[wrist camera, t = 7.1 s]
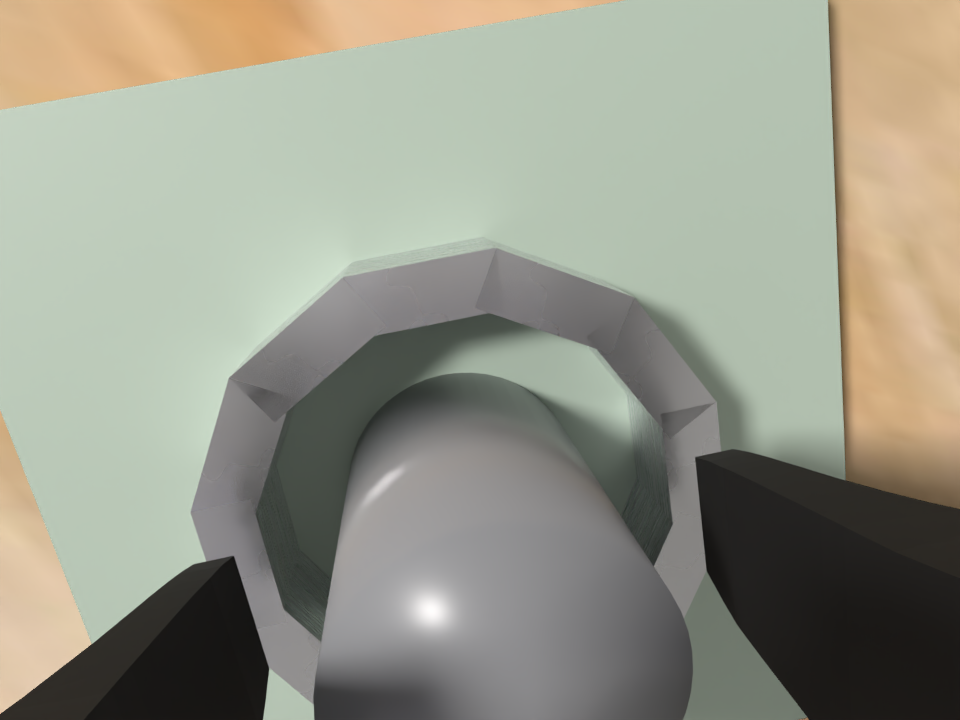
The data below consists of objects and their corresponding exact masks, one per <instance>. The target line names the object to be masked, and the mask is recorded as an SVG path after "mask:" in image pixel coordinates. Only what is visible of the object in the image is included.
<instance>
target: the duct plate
mask: <svg viewBox="0 0 960 720" xmlns="http://www.w3.org/2000/svg"><path fill="white" fill-rule="evenodd" d="M478 237H483V238H486V239H489V240H492V241H494V242H497V243H500V244H503V245H506V246H508V247H511V248H514V249H517V250H520V251H522V252H525V253H528V254H531V255H534V256H536V257H539V258H542V259H545V260H548V261H550V262H553V263H556V264H559V265H562V266H564V267H567V268H570V269H573V270H576V271H578V272H581V273H584V274H587V275H590V276H592V277H595V278H598V279H601V280H603V281H605V282H606V283H608V284H610V285H612V286H614V287H616V288H618V289H620V290H622V291H623V292H625V293H627V294H629V295H631V296H633V297H635V299H636V300H637V301H638V303H639V304H640V305H641V306H642V308H643V309H644V310H645V312H646V313H647V314H648V315H649V317H650V318H651V319H652V320H653V322H654V323H655V324H656V326H657V327H658V328H659V329H660V331H661V332H662V333H663V334H664V336H665V337H666V338H667V340H668V341H669V342H670V343H671V345H672V346H673V347H674V348H675V350H676V351H677V352H678V354H679V355H680V356H681V357H682V359H683V360H684V361H685V363H686V364H687V365H688V366H689V368H690V369H691V370H692V371H693V373H694V374H695V375H696V377H697V378H698V379H699V380H700V382H701V383H702V384H703V385H704V387H705V388H706V389H707V391H708V392H709V393H710V394H711V396H712V397H713V398H714V399H715V401H716V402H717V412H718V423H719V434H720V445H721V451H726V450H730V449H736V450H742V451H747V452H751V453H755V454H759V455H762V456H766V457H769V458H773V459H776V460H780V461H783V462H786V463H790V464H793V465H796V466H799V467H803V468H806V469H809V470H813V471H816V472H819V473H822V474H826V475H829V476H832V477H836V478H839V479H842V480H846V474H845V448H844V421H843V394H842V368H841V341H840V314H839V288H838V261H837V234H836V208H835V181H834V154H833V128H832V101H831V74H830V48H829V21H828V0H625V1H619V2H613V3H608V4H602V5H596V6H591V7H585V8H579V9H573V10H568V11H562V12H556V13H551V14H545V15H539V16H534V17H528V18H522V19H516V20H511V21H505V22H499V23H494V24H488V25H482V26H477V27H471V28H465V29H459V30H454V31H448V32H442V33H437V34H431V35H425V36H419V37H414V38H408V39H402V40H397V41H391V42H385V43H380V44H374V45H368V46H362V47H357V48H351V49H345V50H340V51H334V52H328V53H323V54H317V55H311V56H305V57H300V58H294V59H288V60H283V61H277V62H271V63H266V64H260V65H254V66H248V67H243V68H237V69H231V70H226V71H220V72H214V73H208V74H203V75H197V76H191V77H186V78H180V79H174V80H169V81H163V82H157V83H151V84H146V85H140V86H134V87H129V88H123V89H117V90H112V91H106V92H100V93H94V94H89V95H83V96H77V97H72V98H66V99H60V100H55V101H49V102H43V103H37V104H32V105H26V106H20V107H15V108H9V109H3V110H0V411H1V413H2V416H3V418H4V421H5V423H6V426H7V428H8V431H9V434H10V436H11V439H12V441H13V444H14V446H15V449H16V451H17V454H18V457H19V459H20V462H21V464H22V467H23V469H24V472H25V474H26V477H27V480H28V482H29V485H30V487H31V490H32V492H33V495H34V497H35V500H36V502H37V505H38V508H39V510H40V513H41V515H42V518H43V520H44V523H45V525H46V528H47V531H48V533H49V536H50V538H51V541H52V543H53V546H54V548H55V551H56V554H57V556H58V559H59V561H60V564H61V566H62V569H63V571H64V574H65V576H66V579H67V582H68V584H69V587H70V589H71V592H72V594H73V597H74V599H75V602H76V605H77V607H78V610H79V612H80V615H81V617H82V620H83V622H84V625H85V628H86V630H87V633H88V635H89V638H90V640H91V643H92V644H93V643H94V642H95V641H96V640H98V639H99V638H100V637H101V636H102V635H104V634H105V633H106V632H107V631H108V630H110V629H111V628H112V627H113V626H115V625H116V624H117V623H118V622H119V621H121V620H122V619H123V618H124V617H125V616H127V615H128V614H129V613H130V612H132V611H133V610H134V609H135V608H136V607H138V606H139V605H140V604H141V603H142V602H144V601H145V600H146V599H147V598H149V597H150V596H151V595H152V594H153V593H155V592H156V591H157V590H158V589H160V588H161V587H162V586H163V585H165V584H166V583H167V582H169V581H170V580H171V579H172V578H174V577H175V576H176V575H178V574H179V573H181V572H182V571H183V570H185V569H187V568H188V567H190V566H191V565H193V564H197V563H201V562H206V559H205V556H204V553H203V550H202V547H201V544H200V541H199V538H198V535H197V532H196V528H195V525H194V522H193V519H192V516H191V513H190V512H191V508H192V505H193V501H194V498H195V494H196V491H197V487H198V484H199V480H200V477H201V473H202V470H203V466H204V463H205V459H206V456H207V452H208V449H209V445H210V442H211V438H212V435H213V431H214V428H215V425H216V421H217V418H218V414H219V411H220V407H221V404H222V400H223V397H224V393H225V390H226V386H227V383H228V379H229V377H230V376H231V375H232V374H233V373H234V372H235V370H236V369H237V368H238V367H239V366H240V365H241V363H242V362H243V361H244V360H245V359H246V358H247V357H248V355H249V354H250V353H251V352H252V351H253V350H254V348H255V347H256V346H258V345H259V344H260V343H261V342H262V341H263V340H264V339H266V338H267V337H268V336H269V335H270V334H271V333H272V332H273V331H275V330H276V329H277V328H278V327H279V326H280V325H281V324H283V323H284V322H285V321H286V320H287V319H288V318H289V317H290V316H292V315H293V314H294V313H295V312H296V311H297V310H298V309H299V308H301V307H302V306H303V305H304V304H305V303H306V302H307V301H309V300H310V299H311V298H312V297H313V296H314V295H315V294H316V293H318V292H319V291H320V290H321V289H322V288H323V287H324V286H325V285H327V284H328V283H329V282H330V281H331V280H332V279H333V278H335V277H336V276H337V275H338V274H339V273H340V272H341V271H342V270H344V269H345V268H346V267H347V266H348V265H349V264H350V263H352V262H354V261H359V260H364V259H369V258H374V257H380V256H385V255H390V254H395V253H400V252H406V251H411V250H416V249H421V248H426V247H432V246H437V245H442V244H447V243H452V242H458V241H463V240H468V239H473V238H478ZM452 373H480V374H488V375H492V376H496V377H500V378H503V379H506V380H508V381H511V382H514V383H516V384H518V385H520V386H521V387H523V388H525V389H527V390H528V391H530V392H531V393H532V394H534V395H535V396H536V397H538V398H539V399H540V400H541V401H542V402H543V403H544V404H545V405H546V406H547V407H548V408H549V409H550V410H551V411H552V413H553V414H554V415H555V417H556V418H557V419H558V421H559V422H560V424H561V425H562V427H563V428H564V430H565V432H566V433H567V435H568V436H569V438H570V439H571V441H572V442H573V444H574V445H575V447H576V448H577V450H578V451H579V453H580V454H581V456H582V458H583V459H584V461H585V462H586V464H587V465H588V467H589V468H590V470H591V471H592V473H593V474H594V476H595V477H596V479H597V481H598V482H599V484H600V485H601V487H602V488H603V490H604V491H605V493H606V494H607V496H608V497H609V499H610V500H611V502H612V503H613V505H614V507H615V508H616V510H617V511H618V513H619V514H620V515H621V513H622V511H623V508H624V506H625V504H626V501H627V499H628V497H629V494H630V492H631V490H632V488H633V485H634V483H635V481H636V478H637V475H636V467H635V459H634V451H633V443H632V436H631V428H630V420H629V412H628V404H627V396H626V393H625V391H624V390H623V389H622V388H621V387H620V385H619V384H618V383H617V382H616V381H615V379H614V378H613V377H612V376H611V375H610V373H609V372H608V371H607V370H606V368H605V367H604V366H603V365H602V364H601V362H600V361H599V360H598V359H597V358H596V356H595V355H594V354H593V353H592V352H591V350H590V349H589V348H588V347H587V346H586V345H583V344H580V343H577V342H574V341H571V340H568V339H565V338H562V337H559V336H556V335H553V334H550V333H547V332H545V331H542V330H539V329H536V328H533V327H530V326H527V325H524V324H521V323H518V322H515V321H512V320H509V319H506V318H503V317H500V316H497V315H494V314H491V313H487V314H482V315H477V316H472V317H467V318H462V319H457V320H452V321H447V322H442V323H437V324H432V325H427V326H422V327H417V328H412V329H407V330H401V331H396V332H391V333H386V334H381V335H376V336H374V337H373V338H371V339H370V340H369V341H368V342H367V343H366V344H364V345H363V346H362V347H361V348H360V349H359V350H358V351H356V352H355V353H354V354H353V355H352V356H351V357H349V358H348V359H347V360H346V361H345V362H344V363H343V364H341V365H340V366H339V367H338V368H337V369H336V370H335V371H333V372H332V373H331V374H330V375H329V376H328V377H326V378H325V379H324V380H323V381H322V382H321V383H320V384H318V385H317V386H316V387H315V388H314V389H313V390H311V391H310V392H309V393H308V394H307V395H306V396H305V397H303V398H302V399H301V400H300V401H299V402H298V403H296V405H295V408H294V411H293V415H292V418H291V421H290V424H289V427H288V431H287V434H286V437H285V440H284V444H283V447H282V450H281V453H280V456H279V460H278V463H277V469H278V473H279V476H280V480H281V483H282V487H283V490H284V494H285V497H286V501H287V504H288V508H289V512H290V515H291V519H292V522H293V526H294V529H295V533H296V536H297V540H298V543H299V547H300V550H301V551H302V552H303V553H305V554H306V555H307V556H308V557H309V558H310V559H311V560H312V561H313V562H314V563H315V564H317V565H318V566H319V567H320V568H321V569H322V570H323V571H324V572H325V573H326V574H327V575H329V576H330V577H331V578H332V574H333V568H334V562H335V556H336V550H337V544H338V538H339V532H340V526H341V520H342V514H343V508H344V502H345V496H346V490H347V484H348V479H349V473H350V467H351V462H352V458H353V454H354V450H355V447H356V445H357V443H358V440H359V438H360V436H361V434H362V432H363V430H364V429H365V427H366V425H367V424H368V422H369V421H370V420H371V419H372V417H373V416H374V415H375V413H376V412H377V411H378V410H379V409H380V408H381V407H382V406H383V405H384V404H385V403H386V402H387V401H389V400H390V399H391V398H393V397H394V396H395V395H397V394H398V393H399V392H401V391H403V390H405V389H406V388H408V387H410V386H412V385H414V384H416V383H418V382H421V381H423V380H426V379H429V378H432V377H436V376H440V375H445V374H452ZM684 621H685V623H686V626H687V629H688V632H689V637H690V642H691V647H692V657H693V677H692V687H691V694H690V698H689V702H688V706H687V710H686V713H685V716H684V718H683V720H798V719H803V718H807V716H806V715H805V714H804V712H803V711H802V710H801V708H800V707H799V706H798V704H797V703H796V702H795V701H794V699H793V698H792V697H791V695H790V694H789V693H788V691H787V690H786V689H785V688H784V686H783V685H782V684H781V682H780V681H779V680H778V678H777V677H776V676H775V675H774V673H773V672H772V671H771V669H770V668H769V667H768V665H767V664H766V663H765V662H764V660H763V659H762V658H761V656H760V655H759V654H758V652H757V651H756V650H755V648H754V647H753V646H752V644H751V643H750V642H749V640H748V639H747V638H746V636H745V635H744V634H743V632H742V631H741V630H740V628H739V627H738V625H737V624H736V622H735V621H734V619H733V617H732V615H731V614H730V612H729V610H728V609H727V607H726V605H725V604H724V602H723V600H722V598H721V596H720V595H719V593H718V591H717V589H716V587H715V586H714V584H713V582H712V580H711V578H710V576H709V575H708V573H707V571H706V573H705V575H704V577H703V579H702V581H701V583H700V586H699V588H698V590H697V592H696V594H695V596H694V598H693V600H692V602H691V605H690V607H689V609H688V611H687V613H686V615H685V617H684ZM263 720H314V705H313V704H312V703H311V702H310V701H308V700H307V699H306V698H305V697H304V696H302V695H301V694H300V693H299V692H298V691H296V690H295V689H294V688H293V687H292V686H290V685H289V684H288V683H287V682H286V681H285V680H283V679H282V678H281V677H280V676H279V675H277V674H276V673H275V672H274V671H273V670H271V669H270V668H269V676H268V685H267V693H266V702H265V709H264V716H263Z"/></svg>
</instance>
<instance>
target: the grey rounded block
mask: <svg viewBox="0 0 960 720" xmlns="http://www.w3.org/2000/svg"><path fill="white" fill-rule="evenodd" d="M692 677H693V657H692V647H691V642H690V637H689V632H688V629H687V626H686V623H685V621H684V618H683V615H682V612H681V610H680V608H679V607H678V605H677V603H676V601H675V599H674V598H673V596H672V594H671V592H670V591H669V589H668V588H667V586H666V585H665V583H664V582H663V580H662V578H661V577H660V575H659V574H658V572H657V571H656V569H655V568H654V566H653V565H652V563H651V562H650V560H649V559H648V557H647V556H646V554H645V552H644V551H643V549H642V548H641V546H640V545H639V543H638V542H637V540H636V539H635V537H634V536H633V534H632V533H631V531H630V529H629V528H628V526H627V525H626V523H625V522H624V520H623V519H622V517H621V516H620V514H619V513H618V511H617V510H616V508H615V507H614V505H613V503H612V502H611V500H610V499H609V497H608V496H607V494H606V493H605V491H604V490H603V488H602V487H601V485H600V484H599V482H598V481H597V479H596V477H595V476H594V474H593V473H592V471H591V470H590V468H589V467H588V465H587V464H586V462H585V461H584V459H583V458H582V456H581V454H580V453H579V451H578V450H577V448H576V447H575V445H574V444H573V442H572V441H571V439H570V438H569V436H568V435H567V433H566V432H565V430H564V428H563V427H562V425H561V424H560V422H559V421H558V419H557V418H556V417H555V415H554V414H553V413H552V411H551V410H550V409H549V408H548V407H547V406H546V405H545V404H544V403H543V402H542V401H541V400H540V399H539V398H538V397H536V396H535V395H534V394H532V393H531V392H530V391H528V390H527V389H525V388H523V387H521V386H520V385H518V384H516V383H514V382H511V381H508V380H506V379H503V378H500V377H496V376H492V375H488V374H480V373H452V374H445V375H440V376H436V377H432V378H429V379H426V380H423V381H421V382H418V383H416V384H414V385H412V386H410V387H408V388H406V389H405V390H403V391H401V392H399V393H398V394H397V395H395V396H394V397H393V398H391V399H390V400H389V401H387V402H386V403H385V404H384V405H383V406H382V407H381V408H380V409H379V410H378V411H377V412H376V413H375V415H374V416H373V417H372V419H371V420H370V421H369V422H368V424H367V425H366V427H365V429H364V430H363V432H362V434H361V436H360V438H359V440H358V443H357V445H356V447H355V450H354V454H353V458H352V462H351V467H350V473H349V479H348V484H347V490H346V496H345V502H344V508H343V514H342V520H341V526H340V532H339V538H338V544H337V550H336V556H335V562H334V568H333V574H332V580H331V586H330V592H329V598H328V604H327V610H326V616H325V622H324V628H323V634H322V639H321V645H320V651H319V657H318V663H317V669H316V675H315V685H314V695H313V703H314V720H683V718H684V716H685V713H686V710H687V706H688V702H689V698H690V694H691V687H692Z"/></svg>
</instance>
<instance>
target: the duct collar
mask: <svg viewBox="0 0 960 720" xmlns="http://www.w3.org/2000/svg"><path fill="white" fill-rule="evenodd" d="M487 313H491V314H494V315H497V316H500V317H503V318H506V319H509V320H512V321H515V322H518V323H521V324H524V325H527V326H530V327H533V328H536V329H539V330H542V331H545V332H547V333H550V334H553V335H556V336H559V337H562V338H565V339H568V340H571V341H574V342H577V343H580V344H583V345H586V346H587V347H588V348H589V349H590V350H591V352H592V353H593V354H594V355H595V356H596V358H597V359H598V360H599V361H600V362H601V364H602V365H603V366H604V367H605V368H606V370H607V371H608V372H609V373H610V375H611V376H612V377H613V378H614V379H615V381H616V382H617V383H618V384H619V385H620V387H621V388H622V389H623V390H624V391H625V393H626V396H627V404H628V412H629V420H630V428H631V436H632V443H633V451H634V459H635V467H636V475H637V478H636V481H635V483H634V485H633V488H632V490H631V492H630V494H629V497H628V499H627V501H626V504H625V506H624V508H623V511H622V513H621V515H620V516H621V517H622V519H623V520H624V522H625V523H626V525H627V526H628V528H629V529H630V531H631V533H632V534H633V536H634V537H635V539H636V540H637V542H638V543H639V545H640V546H641V548H642V549H643V551H644V552H645V554H646V556H647V557H648V559H649V560H650V562H651V563H652V565H653V566H654V568H655V569H656V571H657V572H658V574H659V575H660V577H661V578H662V580H663V582H664V583H665V585H666V586H667V588H668V589H669V591H670V592H671V594H672V596H673V598H674V599H675V601H676V603H677V605H678V607H679V608H680V610H681V612H682V615H683V618H684V617H685V615H686V613H687V611H688V609H689V607H690V605H691V602H692V600H693V598H694V596H695V594H696V592H697V590H698V588H699V586H700V583H701V581H702V579H703V577H704V575H705V573H706V571H707V570H706V561H705V551H704V541H703V531H702V521H701V512H700V502H699V492H698V482H697V472H696V462H695V457H698V456H702V455H707V454H712V453H716V452H721V445H720V434H719V423H718V412H717V402H716V401H715V399H714V398H713V397H712V396H711V394H710V393H709V392H708V391H707V389H706V388H705V387H704V385H703V384H702V383H701V382H700V380H699V379H698V378H697V377H696V375H695V374H694V373H693V371H692V370H691V369H690V368H689V366H688V365H687V364H686V363H685V361H684V360H683V359H682V357H681V356H680V355H679V354H678V352H677V351H676V350H675V348H674V347H673V346H672V345H671V343H670V342H669V341H668V340H667V338H666V337H665V336H664V334H663V333H662V332H661V331H660V329H659V328H658V327H657V326H656V324H655V323H654V322H653V320H652V319H651V318H650V317H649V315H648V314H647V313H646V312H645V310H644V309H643V308H642V306H641V305H640V304H639V303H638V301H637V300H636V299H635V297H633V296H631V295H629V294H627V293H625V292H623V291H622V290H620V289H618V288H616V287H614V286H612V285H610V284H608V283H606V282H605V281H603V280H601V279H598V278H595V277H592V276H590V275H587V274H584V273H581V272H578V271H576V270H573V269H570V268H567V267H564V266H562V265H559V264H556V263H553V262H550V261H548V260H545V259H542V258H539V257H536V256H534V255H531V254H528V253H525V252H522V251H520V250H517V249H514V248H511V247H508V246H506V245H503V244H500V243H497V242H494V241H492V240H489V239H486V238H483V237H478V238H473V239H468V240H463V241H458V242H452V243H447V244H442V245H437V246H432V247H426V248H421V249H416V250H411V251H406V252H400V253H395V254H390V255H385V256H380V257H374V258H369V259H364V260H359V261H354V262H352V263H350V264H349V265H348V266H347V267H346V268H345V269H344V270H342V271H341V272H340V273H339V274H338V275H337V276H336V277H335V278H333V279H332V280H331V281H330V282H329V283H328V284H327V285H325V286H324V287H323V288H322V289H321V290H320V291H319V292H318V293H316V294H315V295H314V296H313V297H312V298H311V299H310V300H309V301H307V302H306V303H305V304H304V305H303V306H302V307H301V308H299V309H298V310H297V311H296V312H295V313H294V314H293V315H292V316H290V317H289V318H288V319H287V320H286V321H285V322H284V323H283V324H281V325H280V326H279V327H278V328H277V329H276V330H275V331H273V332H272V333H271V334H270V335H269V336H268V337H267V338H266V339H264V340H263V341H262V342H261V343H260V344H259V345H258V346H256V347H255V348H254V350H253V351H252V352H251V353H250V354H249V355H248V357H247V358H246V359H245V360H244V361H243V362H242V363H241V365H240V366H239V367H238V368H237V369H236V370H235V372H234V373H233V374H232V375H231V376H230V377H229V379H228V383H227V386H226V390H225V393H224V397H223V400H222V404H221V407H220V411H219V414H218V418H217V421H216V425H215V428H214V431H213V435H212V438H211V442H210V445H209V449H208V452H207V456H206V459H205V463H204V466H203V470H202V473H201V477H200V480H199V484H198V487H197V491H196V494H195V498H194V501H193V505H192V508H191V512H190V513H191V516H192V519H193V522H194V525H195V528H196V532H197V535H198V538H199V541H200V544H201V547H202V550H203V553H204V556H205V559H206V561H211V560H215V559H220V558H225V557H229V556H234V557H235V560H236V564H237V567H238V570H239V573H240V576H241V580H242V583H243V586H244V589H245V592H246V596H247V599H248V602H249V605H250V608H251V612H252V615H253V618H254V621H255V624H256V628H257V631H258V634H259V637H260V640H261V644H262V647H263V650H264V653H265V656H266V660H267V663H268V666H269V668H270V669H271V670H273V671H274V672H275V673H276V674H277V675H279V676H280V677H281V678H282V679H283V680H285V681H286V682H287V683H288V684H289V685H290V686H292V687H293V688H294V689H295V690H296V691H298V692H299V693H300V694H301V695H302V696H304V697H305V698H306V699H307V700H308V701H310V702H311V703H312V704H313V705H314V703H313V695H314V685H315V675H316V669H317V663H318V657H319V651H320V645H321V639H322V634H323V628H324V622H325V616H326V610H327V604H328V598H329V592H330V586H331V580H332V578H331V577H330V576H329V575H327V574H326V573H325V572H324V571H323V570H322V569H321V568H320V567H319V566H318V565H317V564H315V563H314V562H313V561H312V560H311V559H310V558H309V557H308V556H307V555H306V554H305V553H303V552H302V551H301V550H300V547H299V543H298V540H297V536H296V533H295V529H294V526H293V522H292V519H291V515H290V512H289V508H288V504H287V501H286V497H285V494H284V490H283V487H282V483H281V480H280V476H279V473H278V469H277V463H278V460H279V456H280V453H281V450H282V447H283V444H284V440H285V437H286V434H287V431H288V427H289V424H290V421H291V418H292V415H293V411H294V408H295V405H296V403H298V402H299V401H300V400H301V399H302V398H303V397H305V396H306V395H307V394H308V393H309V392H310V391H311V390H313V389H314V388H315V387H316V386H317V385H318V384H320V383H321V382H322V381H323V380H324V379H325V378H326V377H328V376H329V375H330V374H331V373H332V372H333V371H335V370H336V369H337V368H338V367H339V366H340V365H341V364H343V363H344V362H345V361H346V360H347V359H348V358H349V357H351V356H352V355H353V354H354V353H355V352H356V351H358V350H359V349H360V348H361V347H362V346H363V345H364V344H366V343H367V342H368V341H369V340H370V339H371V338H373V337H374V336H376V335H381V334H386V333H391V332H396V331H401V330H407V329H412V328H417V327H422V326H427V325H432V324H437V323H442V322H447V321H452V320H457V319H462V318H467V317H472V316H477V315H482V314H487Z"/></svg>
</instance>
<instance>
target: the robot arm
mask: <svg viewBox="0 0 960 720" xmlns="http://www.w3.org/2000/svg"><path fill="white" fill-rule="evenodd" d="M695 462H696V472H697V482H698V492H699V502H700V512H701V521H702V531H703V541H704V551H705V561H706V570H707V573H708V575H709V576H710V578H711V580H712V582H713V584H714V586H715V587H716V589H717V591H718V593H719V595H720V596H721V598H722V600H723V602H724V604H725V605H726V607H727V609H728V610H729V612H730V614H731V615H732V617H733V619H734V621H735V622H736V624H737V625H738V627H739V628H740V630H741V631H742V632H743V634H744V635H745V636H746V638H747V639H748V640H749V642H750V643H751V644H752V646H753V647H754V648H755V650H756V651H757V652H758V654H759V655H760V656H761V658H762V659H763V660H764V662H765V663H766V664H767V665H768V667H769V668H770V669H771V671H772V672H773V673H774V675H775V676H776V677H777V678H778V680H779V681H780V682H781V684H782V685H783V686H784V688H785V689H786V690H787V691H788V693H789V694H790V695H791V697H792V698H793V699H794V701H795V702H796V703H797V704H798V706H799V707H800V708H801V710H802V711H803V712H804V714H805V715H806V716H807V717H808V719H809V720H960V509H957V508H952V507H947V506H943V505H938V504H933V503H929V502H925V501H921V500H917V499H913V498H909V497H905V496H901V495H897V494H893V493H889V492H885V491H881V490H878V489H874V488H871V487H867V486H863V485H860V484H856V483H853V482H849V481H846V480H842V479H839V478H836V477H832V476H829V475H826V474H822V473H819V472H816V471H813V470H809V469H806V468H803V467H799V466H796V465H793V464H790V463H786V462H783V461H780V460H776V459H773V458H769V457H766V456H762V455H759V454H755V453H751V452H747V451H742V450H736V449H730V450H726V451H721V452H716V453H712V454H707V455H702V456H698V457H695ZM268 676H269V666H268V663H267V660H266V656H265V653H264V650H263V647H262V644H261V640H260V637H259V634H258V631H257V628H256V624H255V621H254V618H253V615H252V612H251V608H250V605H249V602H248V599H247V596H246V592H245V589H244V586H243V583H242V580H241V576H240V573H239V570H238V567H237V564H236V560H235V557H234V556H229V557H225V558H220V559H215V560H211V561H206V562H201V563H197V564H193V565H191V566H190V567H188V568H187V569H185V570H183V571H182V572H181V573H179V574H178V575H176V576H175V577H174V578H172V579H171V580H170V581H169V582H167V583H166V584H165V585H163V586H162V587H161V588H160V589H158V590H157V591H156V592H155V593H153V594H152V595H151V596H150V597H149V598H147V599H146V600H145V601H144V602H142V603H141V604H140V605H139V606H138V607H136V608H135V609H134V610H133V611H132V612H130V613H129V614H128V615H127V616H125V617H124V618H123V619H122V620H121V621H119V622H118V623H117V624H116V625H115V626H113V627H112V628H111V629H110V630H108V631H107V632H106V633H105V634H104V635H102V636H101V637H100V638H99V639H98V640H96V641H95V642H94V643H93V644H91V645H90V646H89V647H88V648H86V649H85V650H84V651H83V652H81V653H80V654H79V655H77V656H76V657H75V658H73V659H72V660H71V661H70V662H68V663H67V664H66V665H64V666H63V667H62V668H61V669H59V670H58V671H57V672H55V673H54V674H53V675H51V676H50V677H49V678H48V679H46V680H45V681H44V682H42V683H41V684H40V685H38V686H37V687H36V688H35V689H33V690H32V691H31V692H29V693H28V694H27V695H26V696H24V697H23V698H22V699H20V700H19V701H17V702H16V703H15V704H13V705H12V706H11V707H9V708H8V709H6V710H5V711H4V712H2V713H1V714H0V720H263V716H264V709H265V702H266V693H267V685H268Z"/></svg>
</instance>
